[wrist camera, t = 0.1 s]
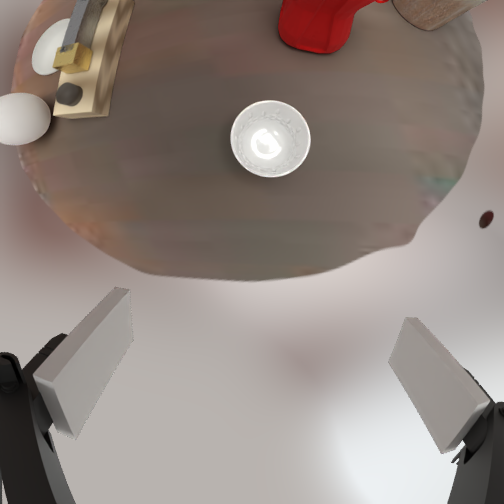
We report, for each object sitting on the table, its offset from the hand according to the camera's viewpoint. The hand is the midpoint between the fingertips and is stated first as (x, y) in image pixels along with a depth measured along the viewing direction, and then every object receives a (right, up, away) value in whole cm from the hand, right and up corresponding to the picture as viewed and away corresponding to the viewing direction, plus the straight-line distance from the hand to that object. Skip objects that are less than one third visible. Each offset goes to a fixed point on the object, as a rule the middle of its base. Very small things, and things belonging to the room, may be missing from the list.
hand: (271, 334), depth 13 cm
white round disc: (-34, +38, +18) cm, 54 cm away
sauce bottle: (-34, +25, +22) cm, 48 cm away
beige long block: (-24, +33, +19) cm, 45 cm away
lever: (-23, +34, +13) cm, 44 cm away
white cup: (+1, +18, +24) cm, 30 cm away
